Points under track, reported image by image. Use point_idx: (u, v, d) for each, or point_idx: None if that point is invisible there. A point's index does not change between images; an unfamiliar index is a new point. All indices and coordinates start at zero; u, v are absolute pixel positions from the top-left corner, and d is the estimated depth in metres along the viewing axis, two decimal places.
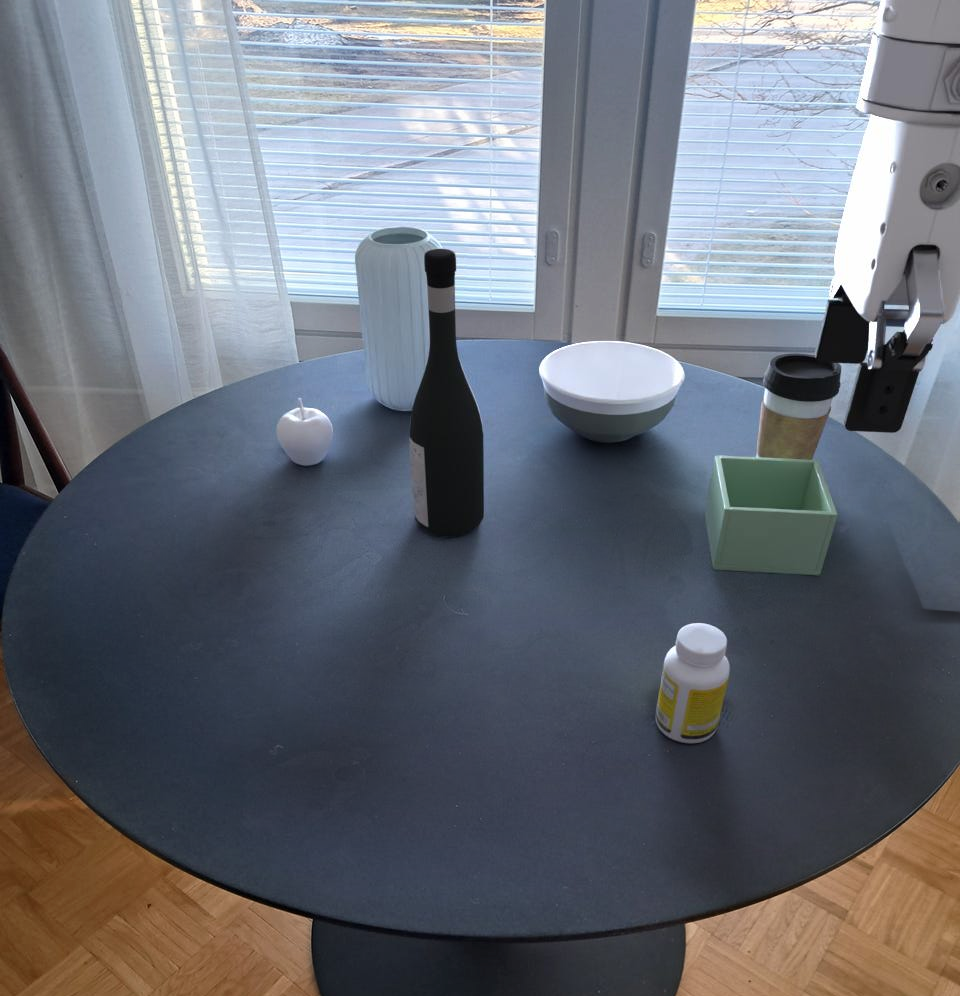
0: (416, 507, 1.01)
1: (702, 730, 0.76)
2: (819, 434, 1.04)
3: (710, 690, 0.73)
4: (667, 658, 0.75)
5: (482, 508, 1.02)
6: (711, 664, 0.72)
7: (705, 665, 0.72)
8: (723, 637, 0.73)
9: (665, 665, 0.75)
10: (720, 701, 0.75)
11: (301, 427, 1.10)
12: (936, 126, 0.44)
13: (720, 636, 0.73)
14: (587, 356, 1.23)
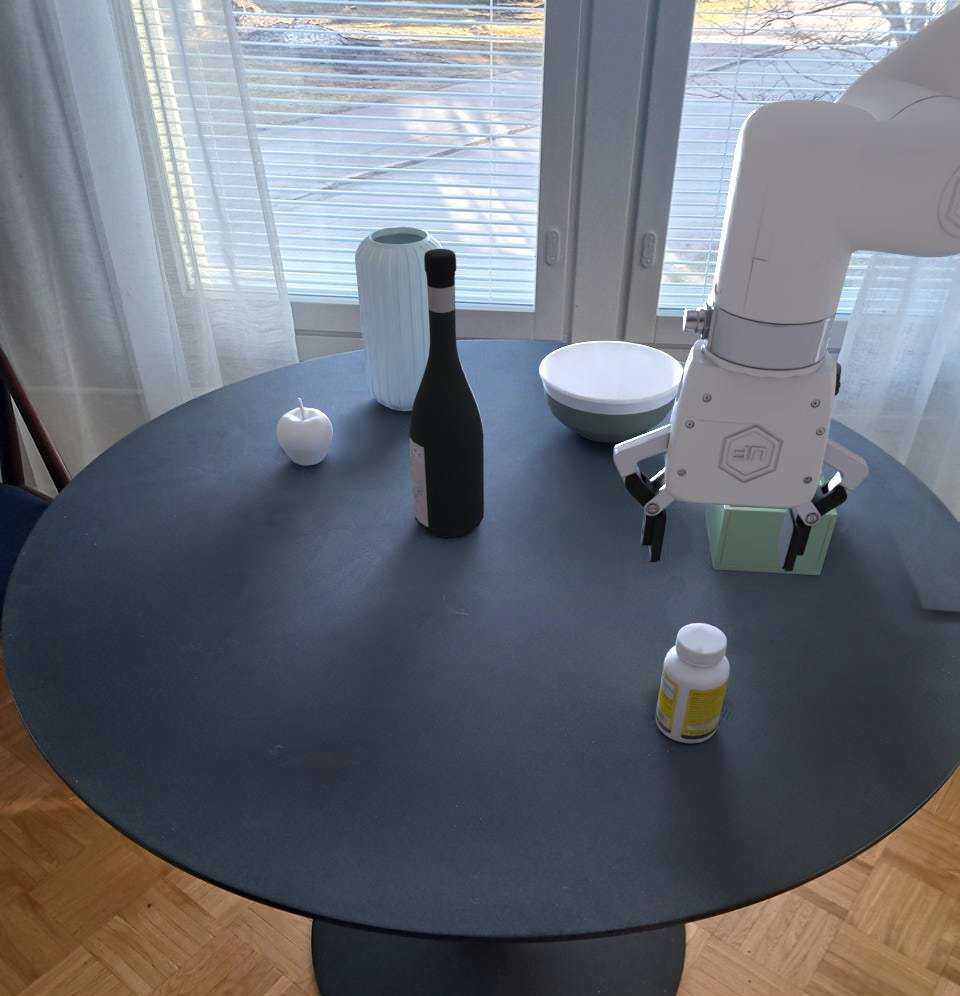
0: (416, 507, 1.01)
1: (702, 730, 0.76)
2: None
3: (710, 690, 0.73)
4: (667, 658, 0.75)
5: (482, 508, 1.02)
6: (711, 664, 0.72)
7: (705, 665, 0.72)
8: (723, 637, 0.73)
9: (665, 665, 0.75)
10: (720, 701, 0.75)
11: (301, 427, 1.10)
12: (697, 345, 0.58)
13: (720, 636, 0.73)
14: (587, 356, 1.23)
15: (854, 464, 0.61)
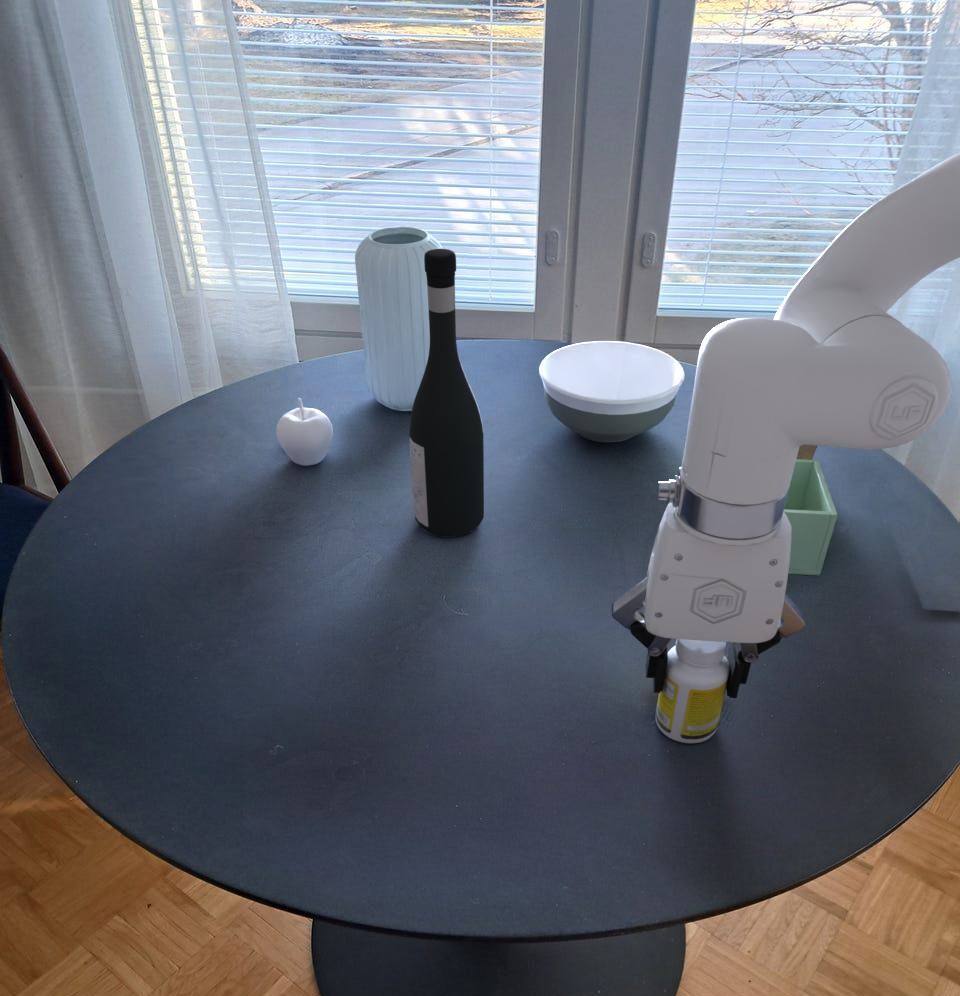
0: (416, 507, 1.01)
1: (702, 730, 0.76)
2: None
3: (710, 690, 0.73)
4: None
5: (482, 508, 1.02)
6: (711, 664, 0.72)
7: (705, 665, 0.72)
8: None
9: None
10: (720, 701, 0.75)
11: (301, 427, 1.10)
12: (670, 507, 0.66)
13: None
14: (587, 356, 1.23)
15: (795, 617, 0.70)
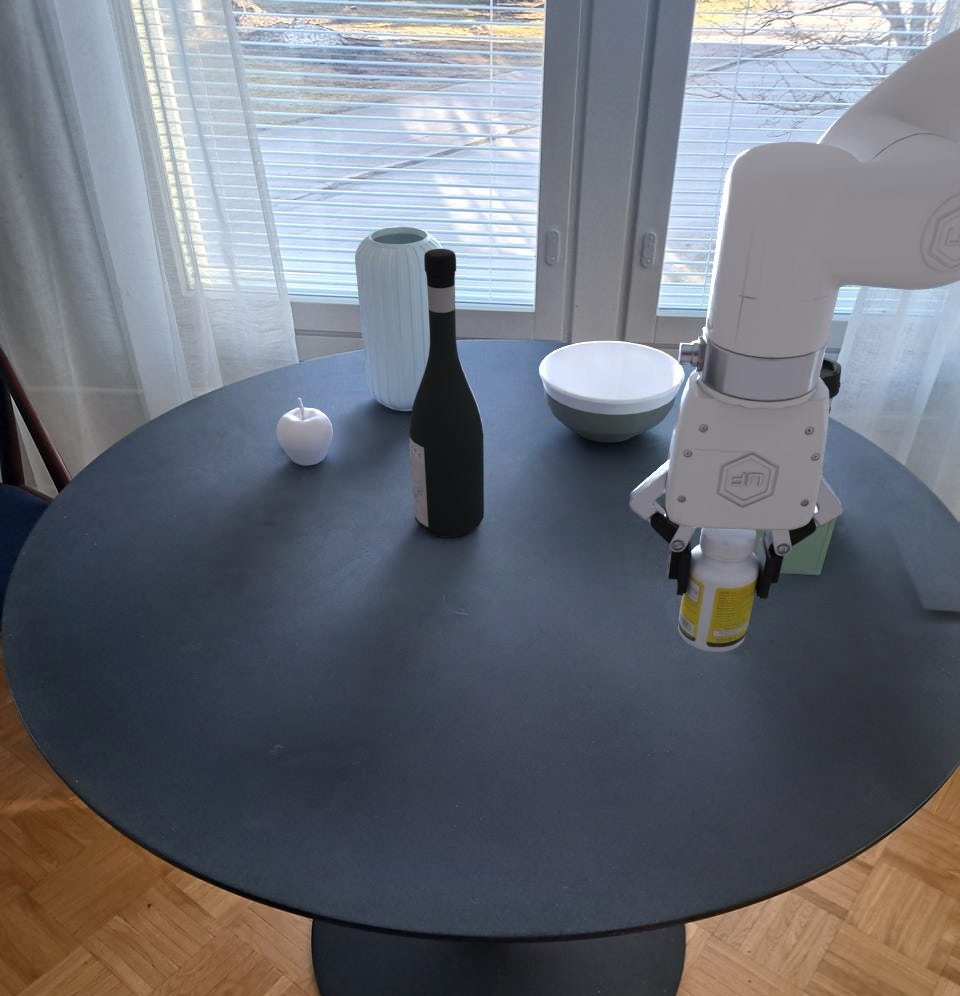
0: (416, 507, 1.01)
1: (730, 636, 0.70)
2: None
3: (739, 588, 0.67)
4: None
5: (482, 508, 1.02)
6: (739, 559, 0.66)
7: (733, 560, 0.66)
8: (752, 530, 0.67)
9: None
10: (749, 603, 0.69)
11: (301, 427, 1.10)
12: (693, 376, 0.60)
13: None
14: (587, 356, 1.23)
15: (833, 502, 0.63)
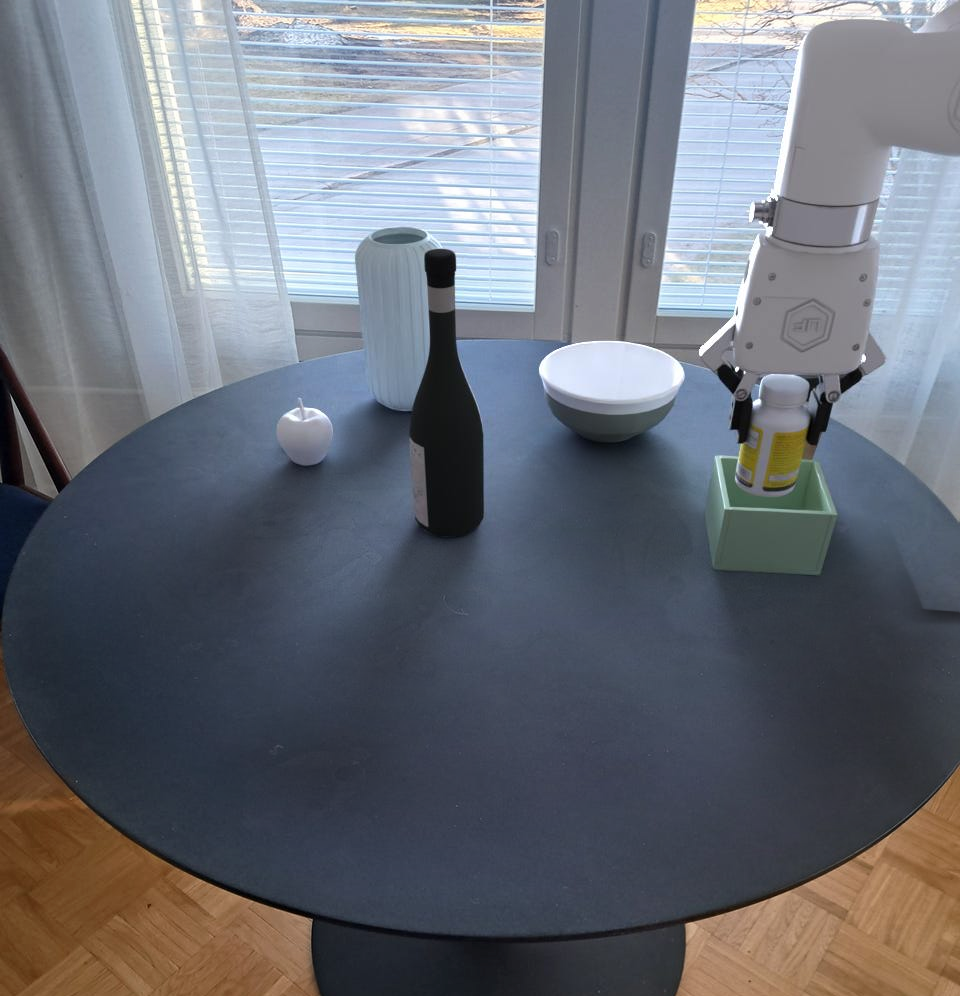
0: (416, 507, 1.01)
1: (783, 481, 0.79)
2: None
3: (794, 432, 0.76)
4: None
5: (482, 508, 1.02)
6: (795, 405, 0.76)
7: (789, 406, 0.76)
8: (805, 382, 0.76)
9: None
10: (801, 449, 0.78)
11: (301, 427, 1.10)
12: (761, 235, 0.70)
13: (802, 381, 0.76)
14: (587, 356, 1.23)
15: (877, 351, 0.73)
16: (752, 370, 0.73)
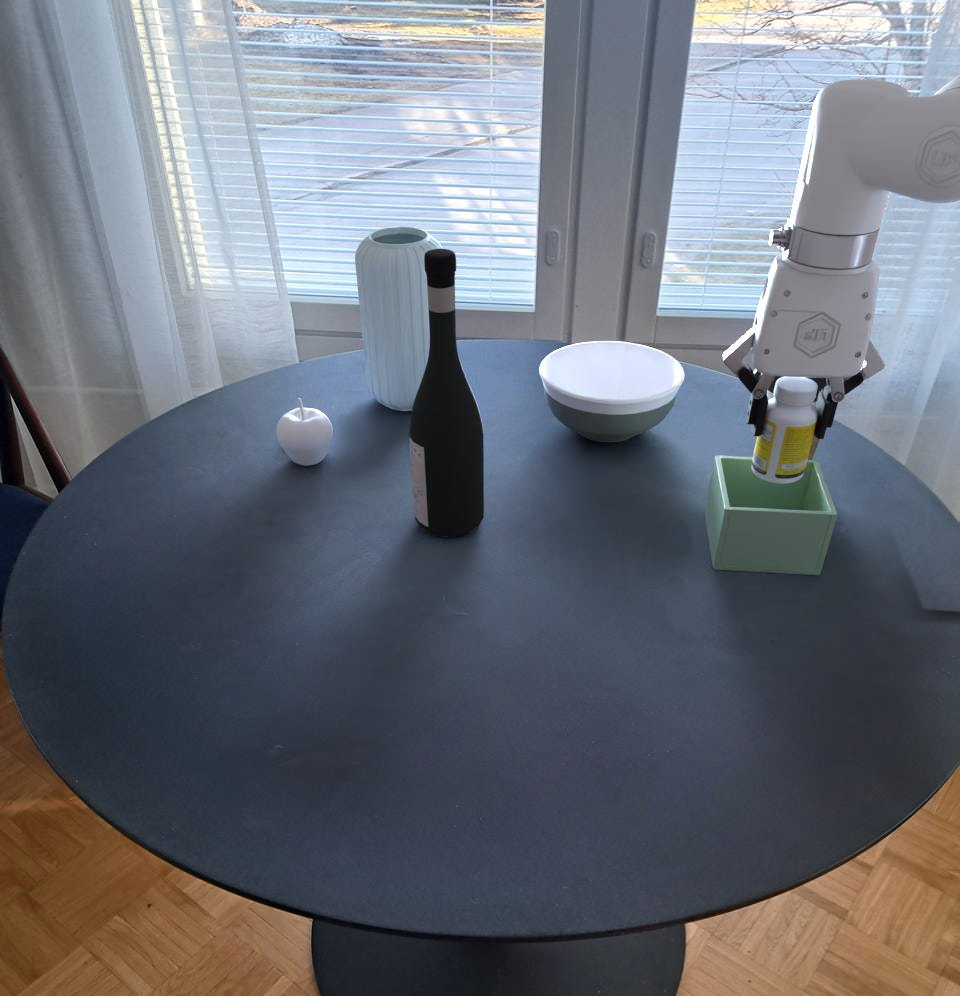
0: (416, 507, 1.01)
1: (793, 469, 0.91)
2: None
3: (803, 427, 0.88)
4: None
5: (482, 508, 1.02)
6: (805, 403, 0.88)
7: (800, 404, 0.88)
8: (814, 383, 0.88)
9: None
10: (809, 442, 0.90)
11: (301, 427, 1.10)
12: (778, 257, 0.82)
13: (811, 382, 0.88)
14: (587, 356, 1.23)
15: (877, 358, 0.85)
16: (768, 372, 0.85)
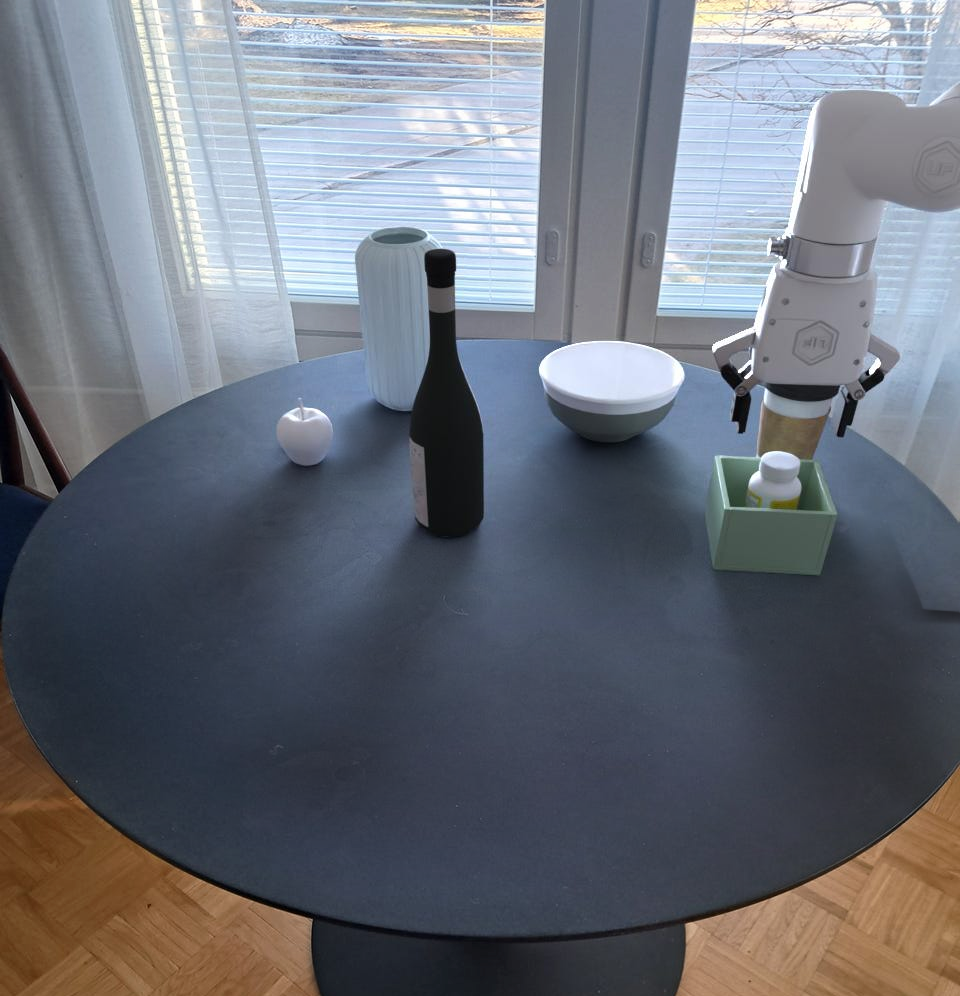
0: (416, 507, 1.01)
1: None
2: (819, 434, 1.04)
3: (787, 500, 0.94)
4: (751, 479, 0.95)
5: (482, 508, 1.02)
6: (788, 479, 0.93)
7: (784, 480, 0.93)
8: (797, 459, 0.94)
9: (750, 485, 0.95)
10: None
11: (301, 427, 1.10)
12: (776, 266, 0.82)
13: (795, 459, 0.94)
14: (587, 356, 1.23)
15: (889, 351, 0.85)
16: (767, 380, 0.85)
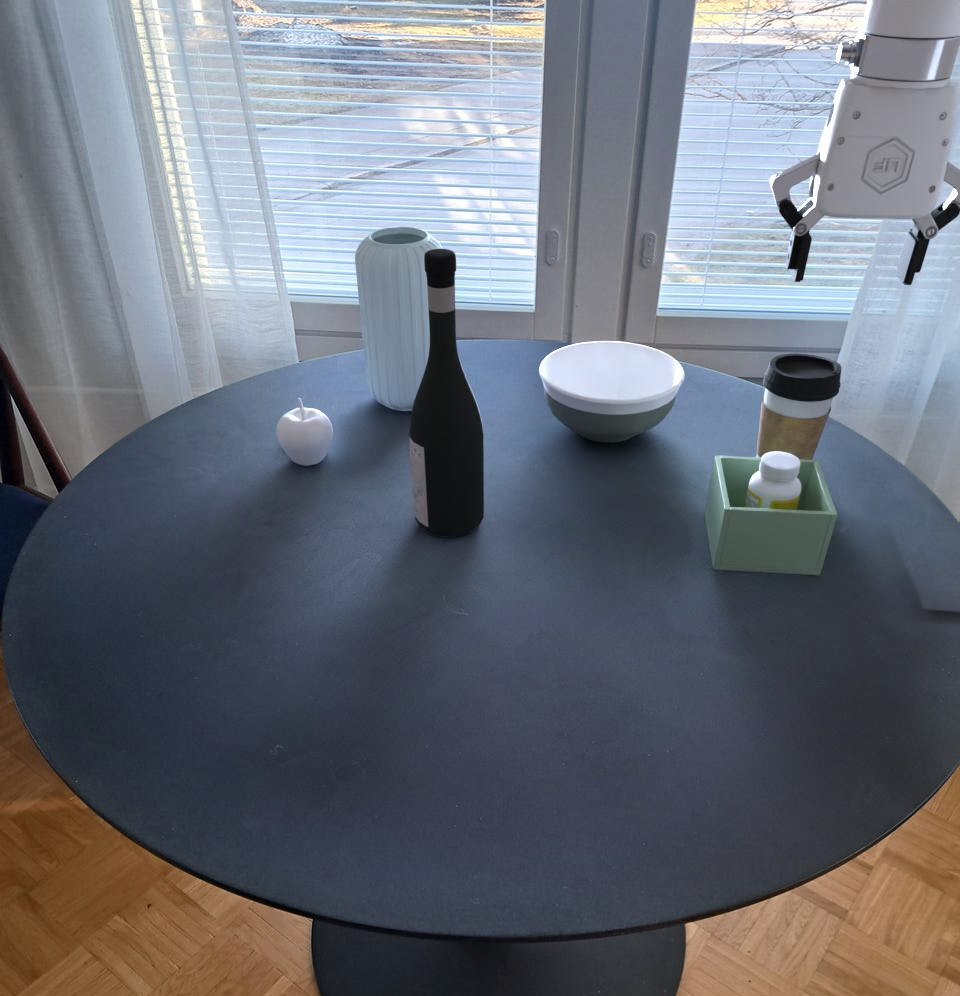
0: (416, 507, 1.01)
1: None
2: (819, 434, 1.04)
3: (787, 500, 0.94)
4: (751, 479, 0.95)
5: (482, 508, 1.02)
6: (788, 479, 0.93)
7: (784, 480, 0.93)
8: (797, 459, 0.94)
9: (750, 485, 0.95)
10: None
11: (301, 427, 1.10)
12: (846, 78, 0.74)
13: (795, 459, 0.94)
14: (587, 356, 1.23)
15: None
16: (832, 213, 0.77)
